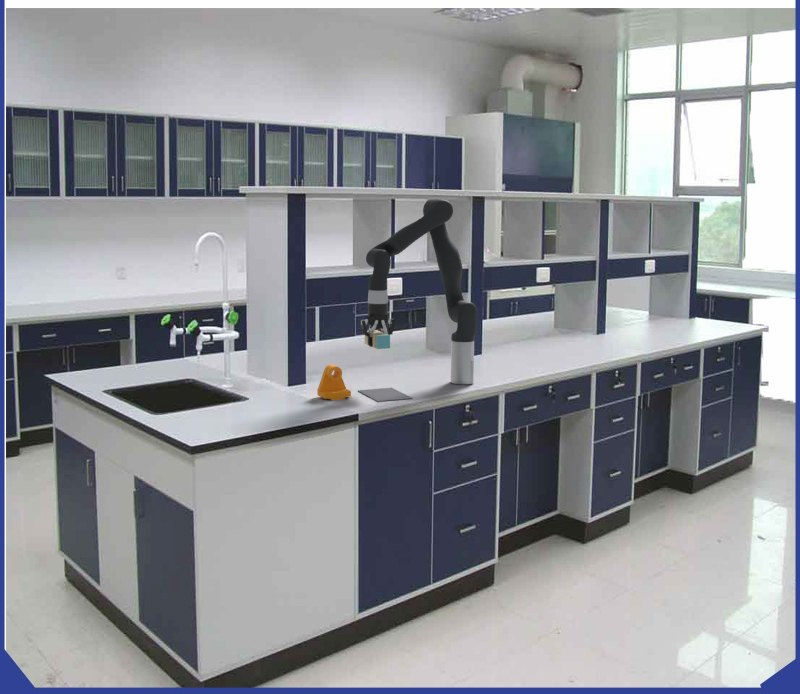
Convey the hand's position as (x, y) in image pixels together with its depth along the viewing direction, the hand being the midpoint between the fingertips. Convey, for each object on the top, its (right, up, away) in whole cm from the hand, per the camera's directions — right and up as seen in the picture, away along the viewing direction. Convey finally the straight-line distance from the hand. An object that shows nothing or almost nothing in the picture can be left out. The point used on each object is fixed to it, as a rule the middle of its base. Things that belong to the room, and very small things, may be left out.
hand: (377, 346), depth 332 cm
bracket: (-16, -20, -8) cm, 26 cm away
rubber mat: (+3, -19, -3) cm, 19 cm away
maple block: (-3, +4, +6) cm, 8 cm away
